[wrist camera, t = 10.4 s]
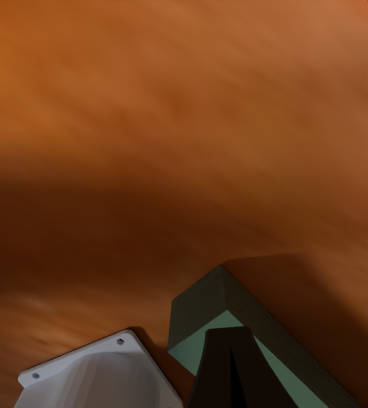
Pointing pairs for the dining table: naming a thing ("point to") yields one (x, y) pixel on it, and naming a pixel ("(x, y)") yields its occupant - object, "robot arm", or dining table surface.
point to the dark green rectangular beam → (263, 333)
